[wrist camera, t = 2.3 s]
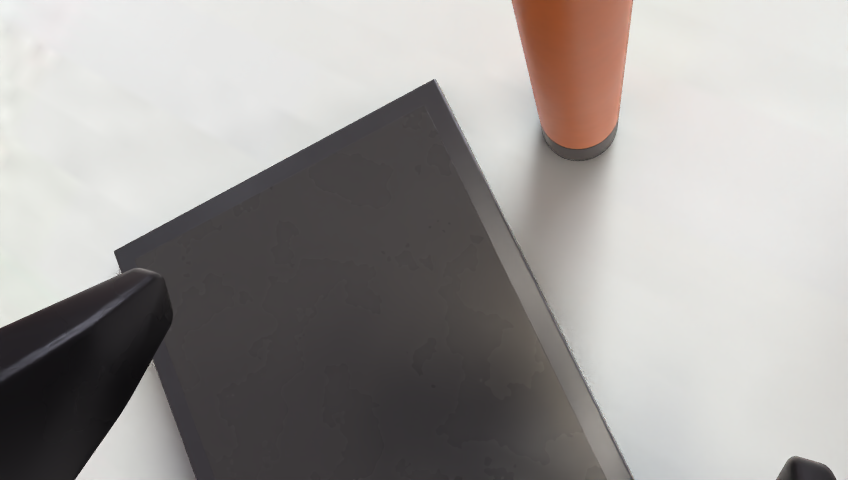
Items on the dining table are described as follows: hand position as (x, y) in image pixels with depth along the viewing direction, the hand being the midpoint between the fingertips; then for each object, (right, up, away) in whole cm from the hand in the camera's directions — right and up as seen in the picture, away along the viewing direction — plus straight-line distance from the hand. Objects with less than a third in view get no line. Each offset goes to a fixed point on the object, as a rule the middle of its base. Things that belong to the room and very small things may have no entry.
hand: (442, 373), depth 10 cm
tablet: (-1, -5, +14) cm, 15 cm away
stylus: (+5, +6, +14) cm, 16 cm away
